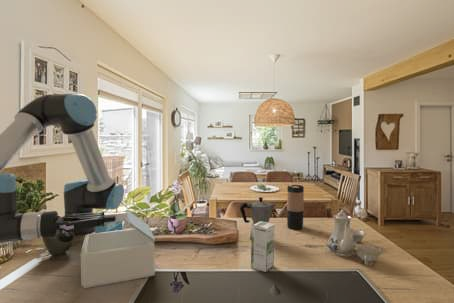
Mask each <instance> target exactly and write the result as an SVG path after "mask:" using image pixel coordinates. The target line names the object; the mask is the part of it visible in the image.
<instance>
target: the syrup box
mask: <svg viewBox="0 0 454 303" xmlns="http://www.w3.org/2000/svg"><path fill="white" fill-rule="evenodd" d="M275 227H276V225H275V223H274V224H273V223H270V222H269V223H268V222H258V223H256V224H254V225H251V229H252V241H251V240H250V241H251V242H250V243H251V245H250V246H251V248H250V250H251V252H250V253H251V254H250V256H251V257H250V268H251V269H255V270H258V271H261V272H265V273H267V272H268V271H269V270H270V269H271V268H272V267H274V265H275V263H274V262H275V261H274V260H275Z"/></svg>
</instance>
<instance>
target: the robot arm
mask: <svg viewBox="0 0 454 303" xmlns="http://www.w3.org/2000/svg"><path fill="white" fill-rule="evenodd" d="M97 114H98V112H97V107H96V105H95V103H94V102H93V100H92V99H91V98H90V97H89V96H86V95H85V94H81V93H80V94H78V93H64V94H43V95H40V96H38V97H37V98H34V99H33V100H31V101H30V102H28V103H27V104H25V105H24V106H23V107H22V108H21V109H20V110H19V111H18V112H17V113H16V114H15V115H14V120H13V121H12V122H11V123H10V124H9V125H8V126H7V127H6V128H5V129H4V130H3V131H2V132H1V133H0V244H3V243H11V242H18V241H26V240H28V241H29V242H33V240H35V239H39V238H40V239H41V238H42V237H43V238H47V237H55V236H56V235H57V233H58V230H64V231H66V232H71V231H72V232H73V234H74V236H77V235H78V236H79V235H83V234H84V235H86V234H90V233H92V232H95V227H98V226H102V227H103V226H104V222H105V223H114V222H122V223H123V222H127V215H126V211H122V212H121V211H120V212H110V213H109V212H108V213H105V211H103V210H108V211H109V210H116V209H118V208H119V207H120V206H121V204H122V202H123V200H124V195H125V194H124V193H125V189H124V185H123V184H121V183H119V182H118V183H116V179H115V178H114V177H113V176H112V175H110V174H109V172H108V169H107V166H106V163H105V161H104V158H103V154H102V153H101V150H100V147H99V145H98V142H97V140H96V136H95V133H94V130H93V128H94V127H95V122H96V120H97V117H98V116H97ZM51 126H59V127H60V129H61V132H62V133H63V134H64V135H66V136H67V137H69V139H70V142H71V143H72V146H73V148H74V151H75V153H76V156H77V158H78V161H79V163H80V165H81V168H82V170H83V172H84V175H85V176H86V179H80V180H73V181H69V182H66V183H65V184H64V187H63V201H64V202H63V203H64V216H59V213H58V211H56V210H51V211H43V212H42V213H41V212H40V211H38V212H29V213H18V199H17V198H18V197H17V196H18V194H17V193H18V192H17V191H18V190H17V189H18V186H17V182H16V181H17V180H16V176H15V174H14V173H12V172H11V173H9V172H3V173H1V172H2V171H3V170H4V169H5V168H7V167H6V166H8V164H9V163H11V161H12V160H13V159H14V158H15V157H16V156H17V155H18V153H19V152H21V150H22V149H23V148H24V147H25V146H26V145H27V144H28V142H29V141H30V140H31V139H32V138H33V137H34V136H35V135H36V134H40V133H41V132H42V131H43V130H45V129H46V128H47V127H51ZM94 209H95V210H102V211H101V212H94ZM43 238H42V239H43Z"/></svg>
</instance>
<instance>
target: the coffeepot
mask: <svg viewBox="0 0 454 303" xmlns="http://www.w3.org/2000/svg"><path fill="white" fill-rule="evenodd" d="M258 200H259V201H255V202H249V203H247V202H244V203H242V204H241V205H240V207H239V211H240V212H241V216H242V219H243V222H244V223H246V224H248V223H250V220H249V219H247V215H246V211H245V208H246V209H250V215H251V220H252V225H254V224H256V223H258V222H268V223H270V218H271V214H272V212H273V210H274V209H275V207H276V206H277V205H276V204H275V203H270V202H265V201H263V200H264V198H263V197H258ZM252 225H251V226H252ZM249 240H250V241H252V228H251V230H250V236H249Z"/></svg>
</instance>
